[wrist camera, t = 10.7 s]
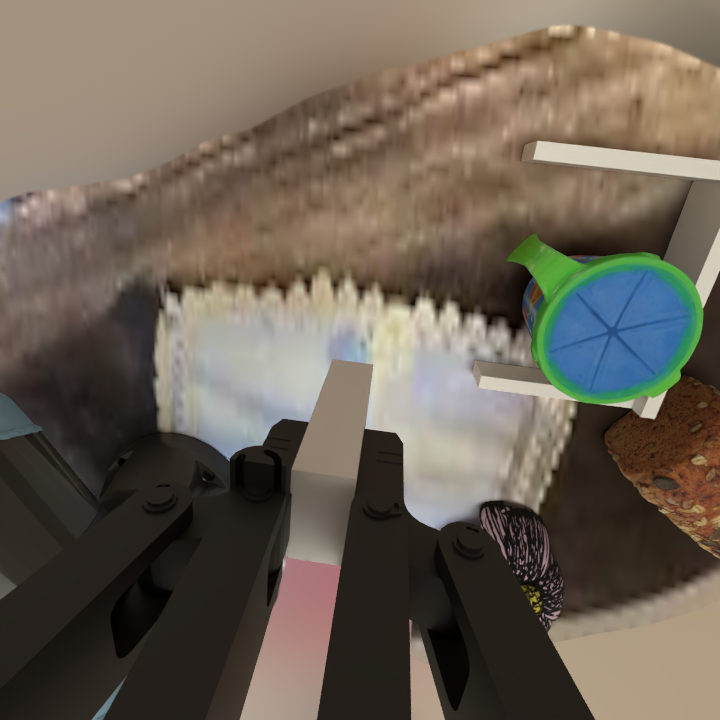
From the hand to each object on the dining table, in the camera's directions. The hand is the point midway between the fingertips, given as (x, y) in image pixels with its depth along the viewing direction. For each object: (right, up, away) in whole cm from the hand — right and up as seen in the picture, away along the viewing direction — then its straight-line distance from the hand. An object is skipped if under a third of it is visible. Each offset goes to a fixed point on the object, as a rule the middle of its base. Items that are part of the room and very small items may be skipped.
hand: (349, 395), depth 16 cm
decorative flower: (+16, -20, +34) cm, 42 cm away
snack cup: (+19, +7, +22) cm, 30 cm away
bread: (+34, -8, +27) cm, 44 cm away
